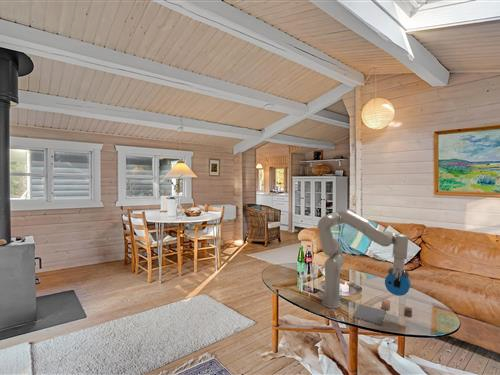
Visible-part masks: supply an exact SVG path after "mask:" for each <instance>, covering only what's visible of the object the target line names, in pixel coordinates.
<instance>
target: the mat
mask: <svg viewBox="0 0 500 375" xmlns="http://www.w3.org/2000/svg"><path fill="white" fill-rule="evenodd" d="M386 313H387V310H385V309H381V308H380V309H379V308H375V307H373V306H368V305H364V304H359V305H358V307H357V308H356V310H355V311H354V313H353V315H352V317H353V318H352V319H355V318H357V319H356V320H359V319H361V320H360V321H362V320H364V321H363V322H366V321H367V323H370V322H371V323H370V324H373V323H374V325H377V326H382V323H383V321H384V318H385V316H386Z"/></svg>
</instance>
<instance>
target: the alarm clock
mask: <svg viewBox="0 0 500 375" xmlns="http://www.w3.org/2000/svg"><path fill="white" fill-rule="evenodd" d="M392 273H393V267H389V269H388V270H387V276H386V277H385V278H384V285H385V287H386V290H387V291H388V292H389V293H390V294H392V295H394V296H398V297H400V296H405V295H406V294H408V292H409V291H410V288H411V285H412V284H411V279H410V273H409V271H407V270H404V269H403V272H402V276H400V288H398V287H394V280H395V274H394V275H393V274H392ZM399 275H400V274H399ZM398 277H399V276H398Z"/></svg>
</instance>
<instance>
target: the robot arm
mask: <svg viewBox="0 0 500 375" xmlns="http://www.w3.org/2000/svg"><path fill="white" fill-rule="evenodd" d="M343 224H346V225H348V226H350V227H351V228H353V229H355V230H357V231H358V232H360V233H361V234H362V235H364V236H365V237H367V239H368V240H370V241H372V242H374V243H376V244H378V245H379V246H382V247H389V246H391V245H392V258H393V265H392V268H393V273H392V274H393V275H394V274H395V280H394V287H398V288H400V276H402V272H403V270H404V268H405V260H408V259H407V258H408V249H409V248H408V244H409V236H408V235H407V234H405V233H395V232H392V231H381V230H379V229H378V228H376V227H375V226H373V224H372V223H371V222H370V221H369V220H368V219H367V218H364V217H362V216H361V215H360V214H357V212H356V211H355V210H354V209H352V208H347V209H343V210H340V211H335V212H331V213H328V214H325V215H324V216H322V217H320V218H319V220H318V223H317V232H318V237H319V240H320V244H321V250H322V252H323V254H325V255H326V256H328V257H327V258H326V260H325V261H324V265H323V268H324V295H322V294H318V296H317V297H318V299H319V300H321V305H322V306H324V307H326V308H329V309H339V308H341V307H342V302H341V301H340V288H341V287H340V286H341V275H340V274H341V272H340V270H341V268H342V267H343V266H344V264H345V260H344V255H343V251H342V250H343V249H342V247H341V244H340V242H339V240H337V239H336V238H334V236H333V232H332V230H331V228H332V227H335V226H337V225H343ZM399 274H400V275H399ZM398 276H399V277H398Z"/></svg>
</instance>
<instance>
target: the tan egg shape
mask: <svg viewBox="0 0 500 375" xmlns="http://www.w3.org/2000/svg"><path fill="white" fill-rule="evenodd" d="M381 310H385V311H390V310H391V300H390V299H386V298H382V299H381Z"/></svg>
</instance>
